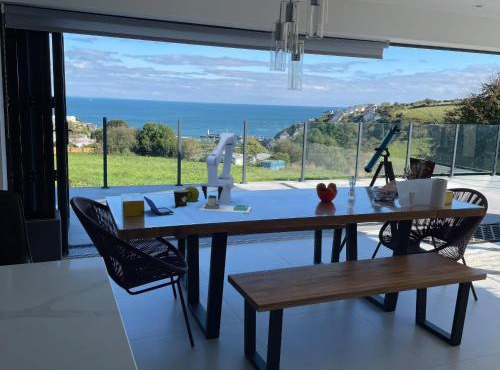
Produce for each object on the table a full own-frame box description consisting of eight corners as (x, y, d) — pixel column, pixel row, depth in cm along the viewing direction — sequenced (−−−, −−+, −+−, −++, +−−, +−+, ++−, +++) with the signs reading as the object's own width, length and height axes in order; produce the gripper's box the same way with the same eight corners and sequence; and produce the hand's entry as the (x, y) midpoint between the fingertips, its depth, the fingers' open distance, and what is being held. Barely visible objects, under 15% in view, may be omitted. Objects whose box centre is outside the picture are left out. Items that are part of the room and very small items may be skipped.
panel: (204, 206, 281) (204, 201, 280) (251, 208, 277) (251, 204, 277) (198, 211, 267) (198, 206, 267) (248, 214, 264) (248, 209, 263)
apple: (200, 201, 295) (200, 184, 293) (197, 204, 286) (197, 186, 284) (184, 200, 296) (184, 183, 294) (181, 203, 287) (181, 186, 285)
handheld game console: (175, 215, 258) (175, 198, 257) (151, 217, 252) (151, 200, 250) (165, 209, 272) (165, 193, 270) (143, 211, 265) (142, 195, 263)
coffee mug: (174, 209, 272) (174, 192, 270) (172, 205, 280) (172, 189, 278) (194, 208, 275) (194, 191, 273) (192, 205, 283) (192, 189, 281)
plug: (209, 206, 275) (209, 195, 274) (216, 207, 275) (216, 195, 273) (208, 208, 271) (208, 196, 270) (214, 208, 271) (215, 196, 270)
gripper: (198, 176, 267) (198, 199, 269) (223, 177, 265) (223, 201, 267) (201, 175, 274) (201, 197, 276) (225, 176, 272) (225, 198, 274)
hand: (212, 199), depth 272 cm, fingers open, 7 cm apart
